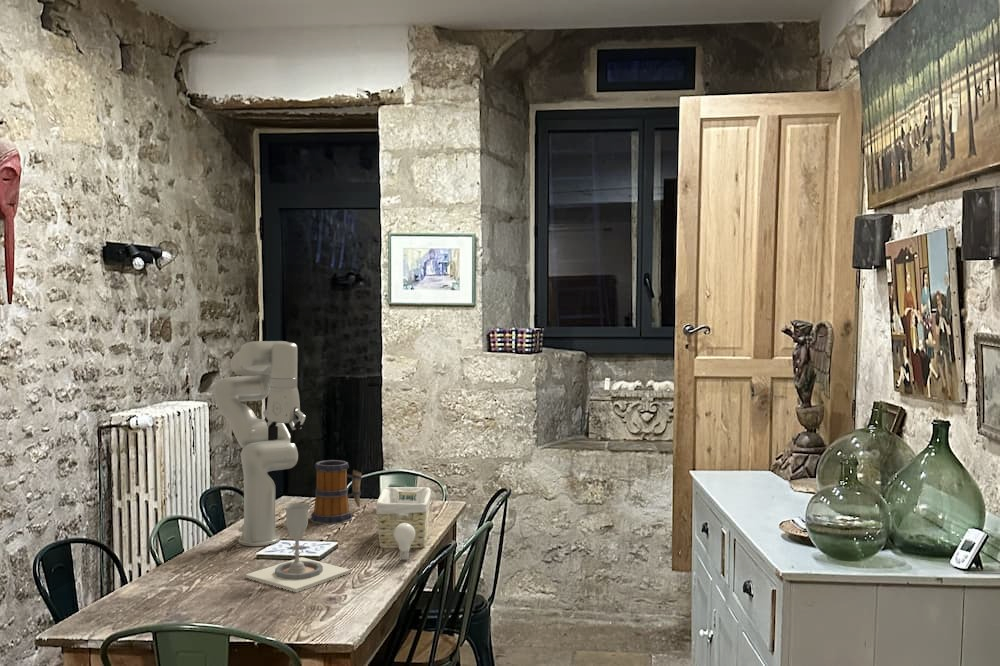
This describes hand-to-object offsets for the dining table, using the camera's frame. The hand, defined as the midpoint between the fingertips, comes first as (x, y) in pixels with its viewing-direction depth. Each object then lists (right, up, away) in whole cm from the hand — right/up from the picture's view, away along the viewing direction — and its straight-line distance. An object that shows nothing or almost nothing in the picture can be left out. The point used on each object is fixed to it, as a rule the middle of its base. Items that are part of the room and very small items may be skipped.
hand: (283, 441), depth 244 cm
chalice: (+8, -34, -17) cm, 39 cm away
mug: (+7, -34, +47) cm, 58 cm away
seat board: (+9, -35, -18) cm, 40 cm away
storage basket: (+33, -35, +20) cm, 52 cm away
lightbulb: (+36, -35, -2) cm, 50 cm away
